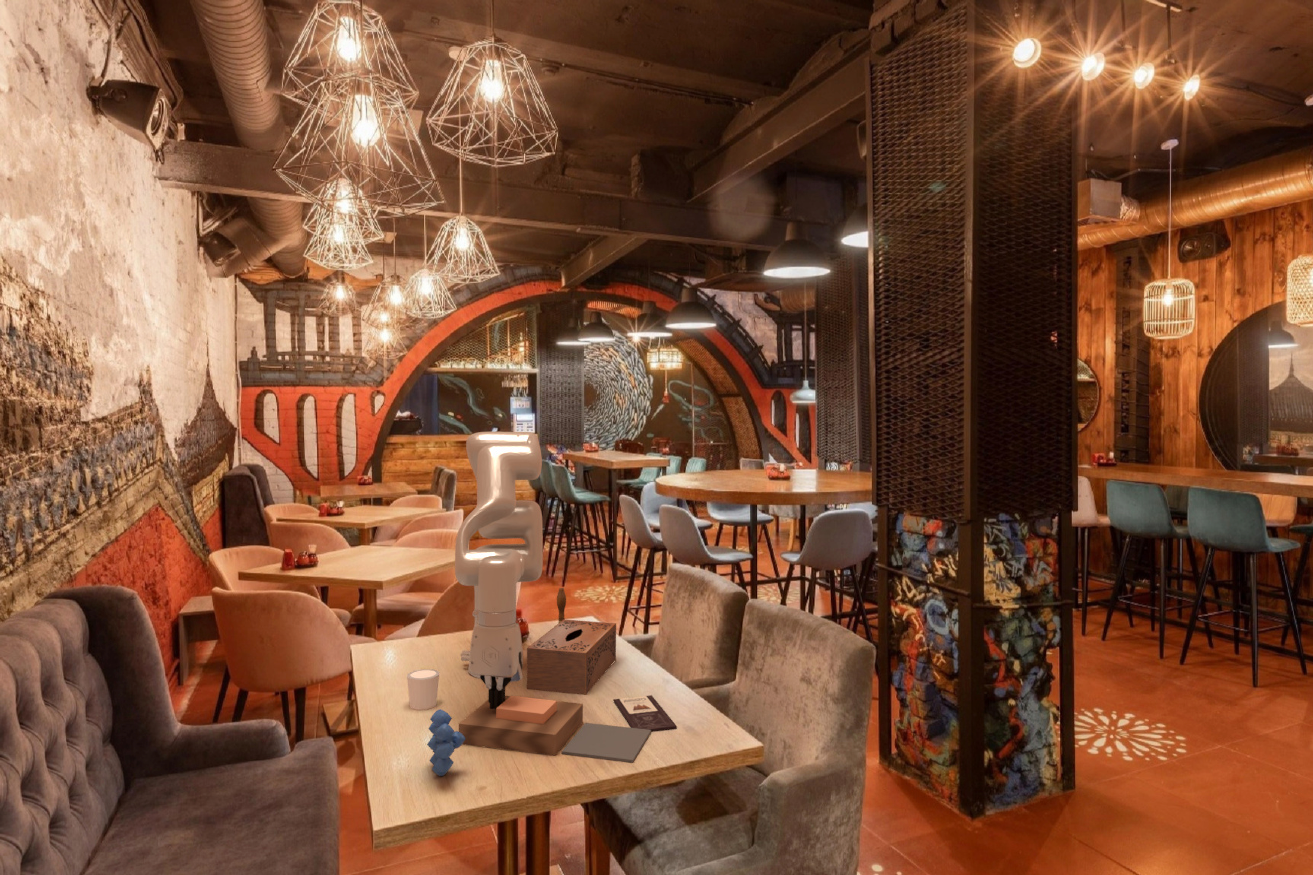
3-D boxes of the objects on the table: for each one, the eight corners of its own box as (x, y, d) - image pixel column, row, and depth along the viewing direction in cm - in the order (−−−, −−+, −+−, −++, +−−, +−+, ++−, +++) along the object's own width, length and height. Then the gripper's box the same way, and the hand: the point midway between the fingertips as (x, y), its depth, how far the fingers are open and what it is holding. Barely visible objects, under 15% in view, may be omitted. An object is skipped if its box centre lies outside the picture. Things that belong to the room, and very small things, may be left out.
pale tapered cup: (445, 701, 172) (445, 670, 172) (427, 712, 166) (427, 680, 166) (419, 697, 174) (419, 667, 174) (400, 708, 168) (400, 676, 168)
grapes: (471, 785, 134) (472, 717, 134) (431, 792, 131) (431, 723, 131) (460, 757, 145) (460, 694, 144) (422, 763, 142) (422, 699, 142)
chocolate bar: (634, 731, 156) (613, 699, 174) (634, 735, 156) (613, 703, 174) (676, 726, 159) (651, 695, 176) (676, 730, 159) (651, 699, 176)
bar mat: (561, 753, 147) (561, 751, 147) (585, 725, 160) (585, 722, 160) (632, 762, 143) (632, 759, 143) (651, 732, 157) (651, 729, 157)
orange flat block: (496, 718, 153) (496, 708, 153) (511, 705, 160) (511, 695, 160) (543, 724, 151) (543, 713, 151) (556, 710, 157) (556, 700, 157)
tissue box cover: (563, 656, 206) (563, 619, 205) (615, 661, 202) (616, 623, 202) (526, 690, 181) (526, 648, 180) (585, 696, 177) (585, 653, 177)
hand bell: (542, 649, 211) (543, 591, 211) (551, 640, 219) (552, 584, 219) (572, 651, 210) (572, 592, 209) (580, 642, 218) (580, 585, 217)
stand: (458, 743, 151) (458, 723, 150) (494, 712, 166) (494, 694, 166) (555, 755, 146) (555, 734, 146) (582, 722, 161) (582, 703, 161)
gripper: (454, 619, 155) (454, 709, 155) (523, 625, 151) (523, 717, 152) (472, 610, 162) (472, 696, 163) (538, 615, 158) (538, 704, 159)
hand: (496, 706), depth 157 cm, fingers closed
